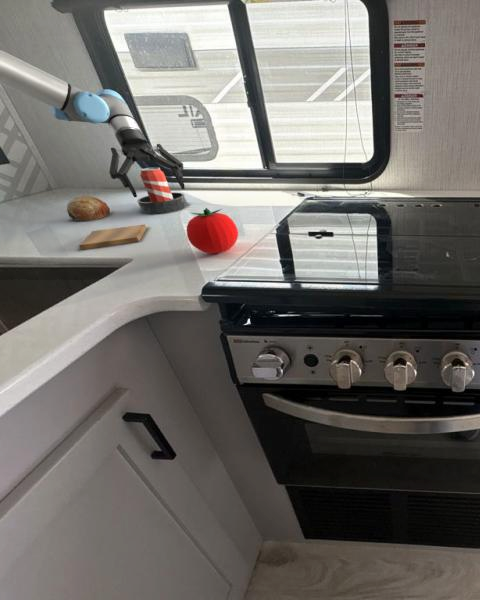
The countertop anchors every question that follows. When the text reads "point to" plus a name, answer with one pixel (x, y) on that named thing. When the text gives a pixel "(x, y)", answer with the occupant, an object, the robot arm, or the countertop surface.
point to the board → (113, 236)
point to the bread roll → (87, 208)
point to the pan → (163, 204)
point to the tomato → (212, 232)
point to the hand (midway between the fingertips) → (160, 190)
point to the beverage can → (156, 184)
